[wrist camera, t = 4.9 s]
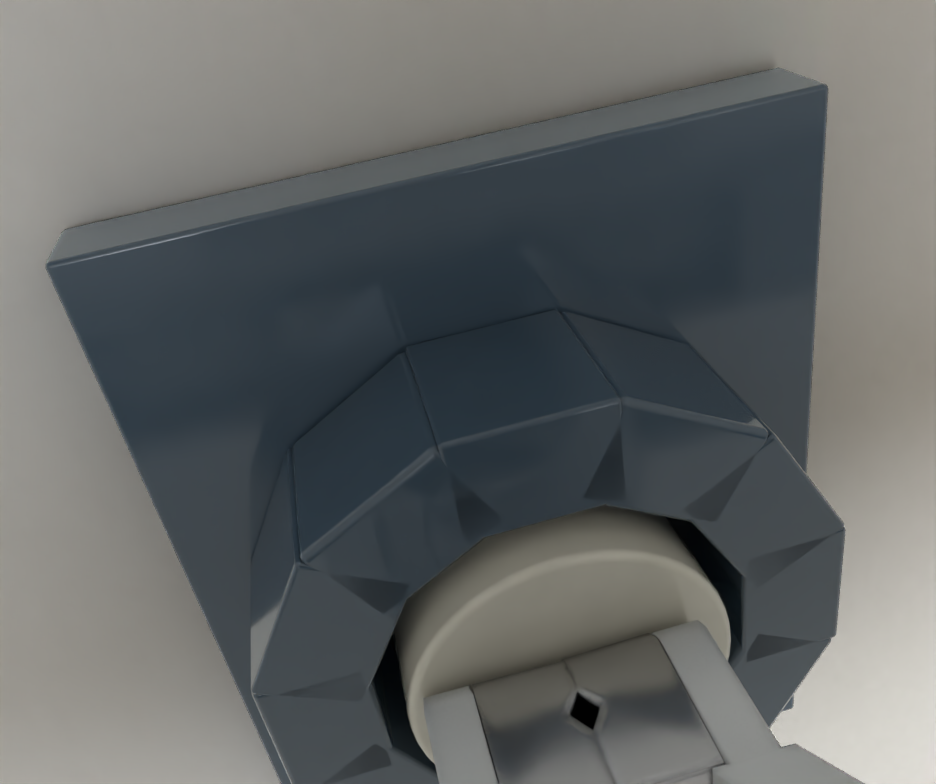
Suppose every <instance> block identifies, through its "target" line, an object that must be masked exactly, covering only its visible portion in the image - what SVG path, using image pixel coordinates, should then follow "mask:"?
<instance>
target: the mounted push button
mask: <svg viewBox="0 0 936 784" xmlns="http://www.w3.org/2000/svg"><path fill="white" fill-rule="evenodd" d="M827 102H828V86H827V85H826V84H824V83H821V82H818V81H816V80H813V79H810V78H807V77H805V76H802V75H799V74H796V73H793V72H791V71H788V70H785V69H782V68H775V69H771V70H766V71H762V72H758V73H753V74H749V75H744V76H740V77H736V78H731V79H727V80H722V81H718V82H713V83H709V84H705V85H700V86H696V87H691V88H687V89H683V90H678V91H674V92H669V93H665V94H660V95H656V96H652V97H647V98H643V99H638V100H634V101H630V102H625V103H621V104H616V105H612V106H608V107H603V108H599V109H594V110H590V111H585V112H581V113H577V114H572V115H568V116H563V117H559V118H555V119H550V120H546V121H541V122H537V123H532V124H528V125H524V126H519V127H515V128H510V129H506V130H502V131H497V132H493V133H488V134H484V135H479V136H475V137H471V138H466V139H462V140H457V141H453V142H449V143H444V144H440V145H435V146H431V147H427V148H422V149H418V150H413V151H409V152H404V153H400V154H396V155H391V156H387V157H382V158H378V159H374V160H369V161H365V162H360V163H356V164H351V165H347V166H343V167H338V168H334V169H329V170H325V171H321V172H316V173H312V174H307V175H303V176H299V177H294V178H290V179H285V180H281V181H276V182H272V183H268V184H263V185H259V186H254V187H250V188H246V189H241V190H237V191H232V192H228V193H223V194H219V195H215V196H210V197H206V198H201V199H197V200H193V201H188V202H184V203H179V204H175V205H170V206H166V207H162V208H157V209H153V210H148V211H144V212H140V213H135V214H131V215H126V216H122V217H118V218H113V219H109V220H104V221H100V222H95V223H91V224H87V225H82V226H78V227H73V228H69V229H65V230H64V231H62V233H61V235H60V237H59V239H58V241H57V243H56V245H55V247H54V248H53V250H52V252H51V254H50V256H49V258H48V260H47V262H46V270H47V272H48V275H49V277H50V279H51V281H52V283H53V286H54V288H55V290H56V292H57V294H58V297H59V299H60V301H61V303H62V305H63V307H64V310H65V312H66V314H67V316H68V318H69V321H70V323H71V325H72V327H73V329H74V332H75V334H76V336H77V338H78V340H79V343H80V345H81V347H82V349H83V351H84V353H85V356H86V358H87V360H88V362H89V364H90V367H91V369H92V371H93V373H94V375H95V378H96V380H97V382H98V384H99V386H100V389H101V391H102V393H103V395H104V397H105V400H106V402H107V404H108V406H109V408H110V410H111V413H112V415H113V417H114V419H115V421H116V424H117V426H118V428H119V430H120V432H121V435H122V437H123V439H124V441H125V443H126V446H127V448H128V450H129V452H130V454H131V456H132V459H133V461H134V463H135V465H136V467H137V470H138V472H139V474H140V476H141V478H142V481H143V483H144V485H145V487H146V489H147V492H148V494H149V496H150V498H151V500H152V503H153V505H154V507H155V509H156V511H157V513H158V516H159V518H160V520H161V522H162V524H163V527H164V529H165V531H166V533H167V535H168V538H169V540H170V542H171V544H172V546H173V549H174V551H175V553H176V555H177V557H178V559H179V562H180V564H181V566H182V568H183V570H184V573H185V575H186V577H187V579H188V581H189V584H190V586H191V588H192V590H193V592H194V595H195V597H196V599H197V601H198V603H199V606H200V608H201V610H202V612H203V614H204V616H205V619H206V621H207V623H208V625H209V627H210V630H211V632H212V634H213V636H214V638H215V641H216V643H217V645H218V647H219V649H220V652H221V654H222V656H223V658H224V660H225V662H226V665H227V667H228V669H229V671H230V673H231V676H232V678H233V680H234V682H235V684H236V687H237V689H238V691H239V693H240V695H241V698H242V700H243V702H244V704H245V706H246V709H247V711H248V713H249V715H250V717H251V719H252V722H253V724H254V726H255V728H256V730H257V733H258V735H259V737H260V739H261V741H262V744H263V746H264V748H265V750H266V752H267V755H268V757H269V759H270V761H271V763H272V765H273V768H274V770H275V772H276V774H277V776H278V779H279V781H280V783H281V784H439V780H438V776H437V771H436V766H435V764H434V763H433V762H432V761H431V760H430V759H429V758H428V757H427V756H426V755H425V753H424V752H423V751H422V749H421V748H420V746H419V745H418V743H417V742H416V740H415V738H414V735H413V733H412V730H411V728H410V724H409V719H408V714H407V709H406V704H405V698H404V693H403V688H402V683H401V677H400V672H399V667H398V662H397V656H396V651H395V646H394V641H393V635H392V634H393V631H394V629H395V627H396V624H397V622H398V620H399V617H400V615H401V612H402V610H403V608H404V605H405V603H406V601H407V600H408V599H409V598H410V597H412V596H413V595H414V594H415V593H417V592H418V591H419V590H420V589H422V588H423V587H424V586H425V585H427V584H428V583H429V582H431V581H432V580H433V579H434V578H436V577H437V576H438V575H439V574H441V573H442V572H443V571H444V570H446V569H447V568H448V567H450V566H451V565H452V564H453V563H455V562H456V561H457V560H458V559H460V558H461V557H462V556H463V555H465V554H466V553H467V552H469V551H470V550H471V549H472V548H474V547H475V546H476V545H477V544H479V543H480V542H481V541H482V540H484V539H485V538H486V537H490V536H493V535H497V534H501V533H504V532H508V531H512V530H515V529H519V528H523V527H526V526H530V525H534V524H537V523H541V522H545V521H548V520H552V519H556V518H559V517H563V516H567V515H570V514H574V513H578V512H581V511H585V510H589V509H592V508H596V507H600V506H608V507H614V508H619V509H625V510H630V511H636V512H641V513H647V514H652V515H657V516H663V517H668V518H670V519H671V521H672V523H673V524H674V526H675V527H676V529H677V530H678V532H679V533H680V535H681V536H682V538H683V539H684V541H685V542H686V544H687V545H688V547H689V548H690V550H691V551H692V553H693V555H694V556H695V558H696V559H697V561H698V562H699V564H700V565H701V567H702V568H703V570H704V571H705V573H706V574H707V576H708V577H709V579H710V580H711V582H712V583H713V585H714V587H715V588H716V590H717V591H718V593H719V595H720V597H721V598H722V600H723V602H724V604H725V607H726V610H727V614H728V617H729V623H730V634H731V644H730V655H729V659H728V663H729V664H730V666H731V668H732V669H733V671H734V672H735V674H736V676H737V677H738V679H739V680H740V682H741V684H742V685H743V687H744V688H745V690H746V692H747V693H748V695H749V696H750V698H751V700H752V701H753V703H754V705H755V706H756V708H757V709H758V711H759V713H760V714H761V716H762V717H763V719H764V721H765V722H766V724H767V725H768V727H769V729H770V727H771V726H772V724H773V723H774V721H775V720H776V719H777V717H778V716H779V714H780V713H781V712H782V711H786V710H789V709H791V708H793V703H794V693H795V692H796V690H797V689H798V687H799V686H800V685H801V683H802V682H803V680H804V679H805V677H806V676H807V675H808V673H809V672H810V670H811V669H812V668H813V666H814V665H815V663H816V662H817V660H818V659H819V658H820V656H821V655H822V653H823V652H824V651H825V649H826V648H827V646H828V645H829V643H830V642H831V638H833V637H834V636H835V635H836V628H837V617H838V606H839V595H840V584H841V573H842V562H843V551H844V540H845V527H844V523H843V521H842V520H841V518H840V517H839V516H838V514H837V513H836V512H835V511H834V509H833V508H832V507H831V505H830V504H829V503H828V502H827V500H826V499H825V498H824V496H823V495H822V494H821V492H820V491H819V490H818V489H817V487H816V486H815V485H814V483H813V482H812V481H811V479H810V478H809V477H808V476H807V474H806V473H807V456H808V438H809V420H810V403H811V385H812V367H813V350H814V332H815V314H816V297H817V279H818V261H819V244H820V226H821V208H822V190H823V173H824V155H825V137H826V120H827Z"/></svg>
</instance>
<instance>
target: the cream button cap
mask: <svg viewBox="0 0 936 784" xmlns="http://www.w3.org/2000/svg"><path fill="white" fill-rule="evenodd" d="M694 620H698V621H700V622H701V623H702V624H704V625H705V626H706V627H707V629H708V630H709V632H710V634H711V635H712V637H713V639H714V640H715V642H716V643H717V645H718V647H719V648H720V650H721V651H722V653H723V655H724V656H725V658H726V659H727V661H728V659H729V655H730V644H731V634H730V623H729V617H728V614H727V610H726V607H725V604H724V602H723V600H722V598H721V597H720V595H719V593H718V591H717V590H716V588H715V587H714V585H713V583H712V582H711V580H710V579H709V577H708V576H707V574H706V573H705V571H704V570H703V568H702V567H701V565H700V564H699V562H698V561H697V559H696V558H695V556H694V555H693V553H692V551H691V550H690V548H689V547H688V545H687V544H686V542H685V541H684V539H683V538H682V536H681V535H680V533H679V532H678V530H677V529H676V527H675V526H674V524H673V523H672V521H671V519H670V518H668V517H663V516H657V515H652V514H647V513H641V512H636V511H630V510H625V509H619V508H614V507H608V506H600V507H596V508H592V509H589V510H585V511H581V512H578V513H574V514H570V515H567V516H563V517H559V518H556V519H552V520H548V521H545V522H541V523H537V524H534V525H530V526H526V527H523V528H519V529H515V530H512V531H508V532H504V533H501V534H497V535H493V536H490V537H486V538H485V539H484V540H482V541H481V542H480V543H479V544H477V545H476V546H475V547H474V548H472V549H471V550H470V551H469V552H467V553H466V554H465V555H463V556H462V557H461V558H460V559H458V560H457V561H456V562H455V563H453V564H452V565H451V566H450V567H448V568H447V569H446V570H444V571H443V572H442V573H441V574H439V575H438V576H437V577H436V578H434V579H433V580H432V581H431V582H429V583H428V584H427V585H425V586H424V587H423V588H422V589H420V590H419V591H418V592H417V593H415V594H414V595H413V596H412V597H410V598H409V599H408V600H407V601H406V603H405V605H404V608H403V610H402V612H401V615H400V617H399V620H398V622H397V624H396V627H395V629H394V631H393V634H392V635H393V641H394V646H395V651H396V656H397V662H398V667H399V672H400V677H401V683H402V688H403V693H404V698H405V704H406V709H407V714H408V719H409V724H410V728H411V730H412V733H413V735H414V738H415V740H416V742H417V743H418V745H419V746H420V748H421V749H422V751H423V752H424V753H425V755H426V756H427V757H428V758H429V759H430V760H431V761H432V762H433V763H434V764H435V762H434V757H433V752H432V748H431V743H430V738H429V733H428V729H427V724H426V719H425V715H424V702H423V698H425V697H429V696H432V695H436V694H440V693H443V692H447V691H451V690H454V689H458V688H461V687H465V686H469V685H470V687H471V690H472V684H475V683H479V682H483V681H487V680H491V679H495V678H498V677H502V676H506V675H510V674H514V673H518V672H521V671H525V670H529V669H533V668H537V667H541V666H544V665H548V664H552V663H556V662H560V661H561V659H564V658H567V657H570V656H574V655H577V654H580V653H583V652H587V651H590V650H593V649H597V648H600V647H603V646H606V645H610V644H613V643H616V642H620V641H623V640H626V639H629V638H633V637H636V636H639V635H642V634H646V633H650V634H652V633H653V632H656V631H660V630H663V629H667V628H670V627H673V626H677V625H680V624H684V623H687V622H691V621H694ZM472 692H473V691H472Z"/></svg>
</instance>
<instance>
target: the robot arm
mask: <svg viewBox="0 0 936 784" xmlns="http://www.w3.org/2000/svg"><path fill="white" fill-rule="evenodd" d="M472 691H473V692H472ZM423 702H424V715H425V719H426V724H427V729H428V733H429V738H430V743H431V748H432V752H433V757H434V762H435V766H436V771H437V776H438V780H439V784H865V783H863V782H861V781H859V780H858V779H856V778H854V777H852V776H851V775H849V774H847V773H846V772H844V771H842V770H840V769H839V768H837V767H835V766H833V765H832V764H830V763H828V762H826V761H825V760H823V759H821V758H820V757H818V756H816V755H814V754H813V753H811V752H809V751H807V750H806V749H804V748H802V747H800V746H799V745H797V744H792V745H788V746H784V747H781V746H780V745H779V743H778V742H777V740H776V738H775V737H774V735H773V734H772V732H771V730H770V729H769V727H768V725H767V724H766V722H765V721H764V719H763V717H762V716H761V714H760V713H759V711H758V709H757V708H756V706H755V705H754V703H753V701H752V700H751V698H750V696H749V695H748V693H747V692H746V690H745V688H744V687H743V685H742V684H741V682H740V680H739V679H738V677H737V676H736V674H735V672H734V671H733V669H732V668H731V666H730V664H729V663H728V661H727V659H726V658H725V656H724V655H723V653H722V651H721V650H720V648H719V647H718V645H717V643H716V642H715V640H714V639H713V637H712V635H711V634H710V632H709V630H708V629H707V627H706V626H705V625H704V624H702V623H701V622H700V621H698V620H694V621H691V622H687V623H684V624H680V625H677V626H673V627H670V628H667V629H663V630H660V631H656V632H653V633H652V634H650V633H646V634H642V635H639V636H636V637H633V638H629V639H626V640H623V641H620V642H616V643H613V644H610V645H606V646H603V647H600V648H597V649H593V650H590V651H587V652H583V653H580V654H577V655H574V656H570V657H567V658H564V659H561V661H560V662H556V663H552V664H548V665H544V666H541V667H537V668H533V669H529V670H525V671H521V672H518V673H514V674H510V675H506V676H502V677H498V678H495V679H491V680H487V681H483V682H479V683H475V684H472V690H471V687H470V685H469V686H465V687H461V688H458V689H454V690H451V691H447V692H443V693H440V694H436V695H432V696H429V697H425V698H423Z"/></svg>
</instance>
